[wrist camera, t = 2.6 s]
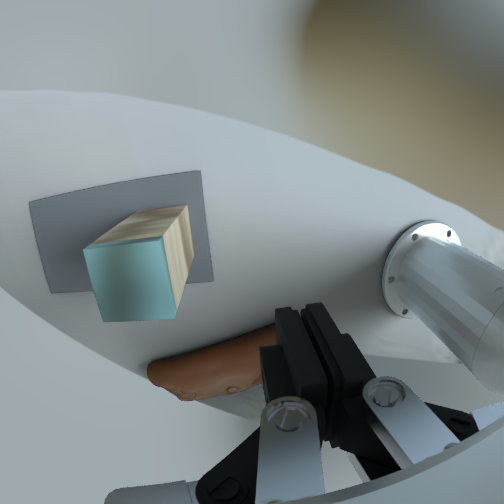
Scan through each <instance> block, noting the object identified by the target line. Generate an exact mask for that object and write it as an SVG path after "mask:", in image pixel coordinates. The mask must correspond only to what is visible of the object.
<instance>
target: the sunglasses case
mask: <svg viewBox="0 0 504 504" xmlns="http://www.w3.org/2000/svg"><path fill="white" fill-rule="evenodd" d="M276 344H277V343H276V323H273V324H270V325H268V326H265V327H263V328H261V329H258V330H255V331H253V332H251V333H248V334H244V335H242V336H239V337H237V338H234V339H232V340H228V341H225V342H222V343H219V344H215V345H212V346H209V347H206V348H203V349H200V350H197V351H193V352H189V353H186V354H182V355H179V356H175V357H172V358H168V359H163V360H160V361H156V362H153V363H150V364H149V365H148V367H147V375H148V378H149V380H150V381H151V382H152V383H153V384H154V385H155V386H158V387H162V388H164V389H166V390H167V391H169V392H170V393H172V394H174V395H176V396H177V397H178V399H179V400H181V401H193V400H199V399H205V398H210V397H214V396H218V395H229V394H233V393H237V392H241V391H244V390H246V389H248V388H249V387H251V386H255V385H258V384H262V383H263V382H262V375H261V367H260V356H259V347H261V346H269V345H276Z"/></svg>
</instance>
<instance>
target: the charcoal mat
mask: <svg viewBox="0 0 504 504" xmlns="http://www.w3.org/2000/svg"><path fill="white" fill-rule="evenodd" d="M186 204H188V211H189V219H190V227H191V234H192V241H193V248H194V258H193V261H192V264H191V267H190V270H189V273H188V277H187V280H186V283H185V284H189V283H200V282H211V281H213V280H214V278H213V271H212V263H211V256H210V248H209V240H208V232H207V224H206V215H205V207H204V198H203V188H202V179H201V170H200V171H192V172H184V173H176V174H169V175H162V176H155V177H149V178H143V179H136V180H131V181H125V182H119V183H114V184H108V185H103V186H98V187H93V188H88V189H83V190H78V191H74V192H69V193H65V194H61V195H56V196H52V197H48V198H44V199H40V200H36V201H32V202H29V206H30V211H31V217H32V222H33V227H34V231H35V236H36V240H37V244H38V248H39V252H40V256H41V260H42V264H43V267H44V271H45V274H46V278H47V281H48V284H49V288H50V291H51V293H67V292H84V291H94V290H93V287H92V283H91V279H90V276H89V272H88V268H87V264H86V260H85V256H84V252H83V249H85V248H86V247H87V246H89V245H90V244H91V243H93V242H94V241H95V240H97V239H98V238H100V237H101V236H102V235H104V234H105V233H106V232H108V231H109V230H111V229H112V228H113V227H115V226H116V225H118V224H119V223H121V222H122V221H124V220H125V219H126V218H128V217H129V216H131V215H132V214H134V213H135V212H137V211H140V210H147V209H155V208H162V207H170V206H178V205H186Z"/></svg>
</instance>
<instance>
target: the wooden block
mask: <svg viewBox="0 0 504 504" xmlns="http://www.w3.org/2000/svg"><path fill="white" fill-rule="evenodd" d="M83 252H84V256H85V260H86V264H87V268H88V272H89V276H90V279H91V283H92V287H93V290H94V293H95V297H96V300H97V303H98V307H99V310H100V313H101V316H102V319H103V322H122V321H145V320H163V319H175V316H176V313H177V309H178V306H179V303H180V299H181V296H182V293H183V289H184V286H185V283H186V280H187V277H188V273H189V270H190V267H191V264H192V261H193V258H194V248H193V241H192V234H191V227H190V219H189V211H188V204H186V205H178V206H170V207H162V208H155V209H147V210H140V211H137V212H135V213H134V214H132V215H131V216H129V217H128V218H126V219H125V220H124V221H122V222H121V223H119V224H118V225H116V226H115V227H113V228H112V229H111V230H109V231H108V232H106V233H105V234H104V235H102V236H101V237H100V238H98V239H97V240H95V241H94V242H93V243H91V244H90V245H89V246H87V247H86V248H85V249H83Z"/></svg>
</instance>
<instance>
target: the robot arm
mask: <svg viewBox="0 0 504 504" xmlns="http://www.w3.org/2000/svg"><path fill="white" fill-rule="evenodd" d="M382 291H383V295H384V298H385V300H386V302H387V304H388V305H389V307H390V308H391V309H392V310H393V311H394V312H395V313H396V314H397V315H399V316H401V317H404V318H409V319H415V318H419V319H420V320H421V321H422V322H423V323H424V324H425V325H426V326H427V327H428V328H429V329H430V330H431V331H432V332H433V333H434V334H435V335H436V336H437V337H438V338H439V339H440V340H441V341H442V342H443V343H444V344H445V345H446V346H447V347H448V348H449V349H450V350H451V351H452V352H453V354H454V355H455V356H456V357H457V358H458V359H459V360H460V361H461V362H462V363H463V364H464V365H465V366H466V367H467V369H468V370H469V371H470V372H471V373H472V374H473V375H474V376H475V377H476V379H477V380H478V381H479V382H480V383H481V384H482V385H483V386H484V387H486V388H487V389H489V390H491V391H493V392H495V393H500V394H504V269H502V268H501V267H499V266H497V265H495V264H493V263H492V262H490V261H488V260H486V259H484V258H483V257H482V256H479V255H477V254H475V253H473V252H471V251H469V250H467V249H466V248H464V247H462V245H461V241H460V239H459V237H458V235H457V234H456V232H455V231H454V230H453V229H452V228H451V227H449V226H448V225H446V224H444V223H441V222H438V221H424V222H421V223H418V224H416V225H414V226H413V227H411V228H409V229H408V230H407V231H406V232H405V233H403V234H402V236H401V237H400V238H399V239H398V240H397V241H396V243H395V244H394V246H393V247H392V249H391V251H390V253H389V255H388V257H387V259H386V262H385V265H384V269H383V275H382ZM275 321H276V343H277V344H276V345H269V346H261V347H259V356H260V367H261V375H262V382H263V388H264V394H265V400H266V406H265V407H264V409H263V410H262V414H261V421H260V427H259V428H258V429H257V430H255V431H254V432H253V433H252V434H251V435H250V436H249V437H248V438H247V439H246V440H245V441H243V442H242V443H241V444H240V445H239V446H238V447H237V448H236V449H234V450H233V451H232V452H231V453H230V454H229V455H228V456H226V457H225V458H224V459H223V460H222V461H221V462H219V463H218V464H217V465H216V466H215V467H213V468H212V469H211V470H210V471H208V472H207V473H206V474H205V475H203V477H202V478H201V479H200V480H198V481H192V482H186V481H185V480H182V481H176V482H170V483H163V484H155V485H148V486H137V487H126V488H120V489H115V490H113V491H112V492H110V493H109V494H108V496H107V497H106V499H105V502H104V504H504V401H502V402H498V403H496V404H492V405H489V406H486V407H482V408H479V409H475V410H472V411H471V412H470V413H469V414H467V413H465V412H462V411H458V410H454V409H450V408H446V407H442V406H438V405H434V404H430V403H427V402H423V401H422V400H421V399H420V398H419V397H418V396H417V395H416V394H415V393H414V392H413V391H412V389H411V388H410V387H409V386H408V385H407V384H406V383H404V382H403V381H402V380H399V379H397V378H395V377H389V376H382V377H376V376H375V374H374V372H373V371H372V369H371V368H370V366H369V364H368V363H367V361H366V360H365V359H364V356H363V355H362V353H361V352H360V350H359V348H358V347H357V345H356V344H355V342H354V341H353V339H352V337H351V336H350V335H349V334H348V333H345V334H341V333H340V331H339V330H338V328H337V326H336V325H335V323H334V322H333V320H332V318H331V317H330V315H329V313H328V312H327V310H326V308H325V307H324V305H323V304H322V303H321V302H320V303H313V304H306V307H305V309H301V317H300V315H299V313H298V311H297V310H292V308H291V307H284V308H276V309H275ZM323 440H324V441H330V444H331V447H332V448H335V447H340V449H342V450H344V451H347V454H348V458H349V460H350V461H351V463H352V465H353V466H354V468H355V470H356V471H357V473H358V474H359V476H360V478H361V479H362V481H363V483H362V484H359V485H356V486H352V487H349V488H345V489H342V490H338V491H334V492H330V493H326V494H325V489H324V478H323V468H322V459H321V447H322V442H323Z"/></svg>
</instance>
